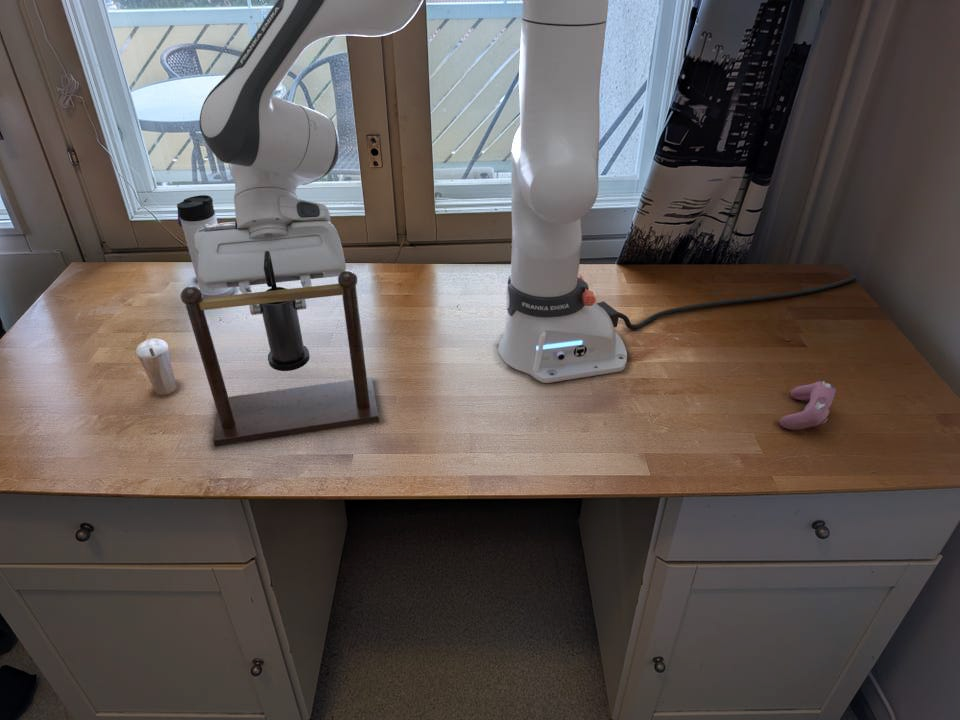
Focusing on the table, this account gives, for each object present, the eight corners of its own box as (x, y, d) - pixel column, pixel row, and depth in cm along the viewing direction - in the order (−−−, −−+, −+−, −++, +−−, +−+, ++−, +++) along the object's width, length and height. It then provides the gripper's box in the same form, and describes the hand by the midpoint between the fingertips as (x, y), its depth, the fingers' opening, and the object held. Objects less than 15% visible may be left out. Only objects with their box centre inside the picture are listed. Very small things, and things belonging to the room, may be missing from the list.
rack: (220, 404, 103) (179, 264, 88) (372, 383, 107) (357, 247, 93) (214, 446, 95) (169, 300, 80) (379, 421, 99) (363, 280, 85)
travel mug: (225, 302, 128) (201, 206, 116) (195, 298, 129) (167, 202, 118) (241, 287, 133) (219, 193, 121) (211, 283, 134) (187, 190, 123)
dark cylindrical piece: (269, 350, 100) (244, 241, 89) (309, 345, 101) (289, 237, 90) (268, 383, 93) (241, 269, 82) (310, 377, 94) (290, 264, 83)
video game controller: (800, 444, 98) (836, 420, 93) (775, 424, 99) (810, 399, 94) (811, 409, 105) (845, 385, 100) (788, 390, 106) (821, 365, 101)
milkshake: (153, 404, 102) (133, 352, 97) (149, 385, 106) (131, 334, 100) (183, 396, 104) (166, 344, 98) (179, 378, 108) (162, 327, 102)
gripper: (186, 217, 89) (196, 314, 87) (337, 204, 93) (350, 297, 91) (198, 233, 95) (207, 325, 93) (339, 221, 99) (351, 308, 97)
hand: (279, 311), depth 92 cm, fingers closed on dark cylindrical piece, 5 cm apart
